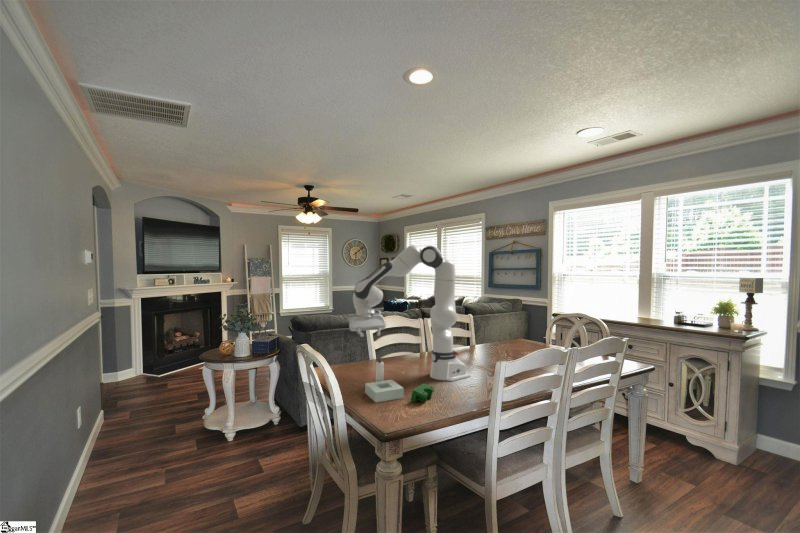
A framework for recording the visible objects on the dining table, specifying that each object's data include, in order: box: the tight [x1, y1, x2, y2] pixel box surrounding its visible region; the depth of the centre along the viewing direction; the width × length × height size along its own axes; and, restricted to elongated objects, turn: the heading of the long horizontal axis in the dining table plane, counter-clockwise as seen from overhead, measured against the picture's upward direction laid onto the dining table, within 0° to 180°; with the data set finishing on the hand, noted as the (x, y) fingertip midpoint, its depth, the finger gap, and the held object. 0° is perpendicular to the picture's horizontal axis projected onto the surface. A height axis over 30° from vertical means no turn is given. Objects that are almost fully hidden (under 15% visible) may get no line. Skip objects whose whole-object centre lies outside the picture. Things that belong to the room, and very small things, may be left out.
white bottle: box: [375, 357, 385, 382], centre depth 191 cm, size 4×4×14 cm
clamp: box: [410, 382, 435, 404], centre depth 172 cm, size 12×6×9 cm, turn 144°
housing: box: [364, 379, 405, 404], centre depth 178 cm, size 14×14×4 cm
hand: (370, 335), depth 202 cm, fingers open, 8 cm apart
